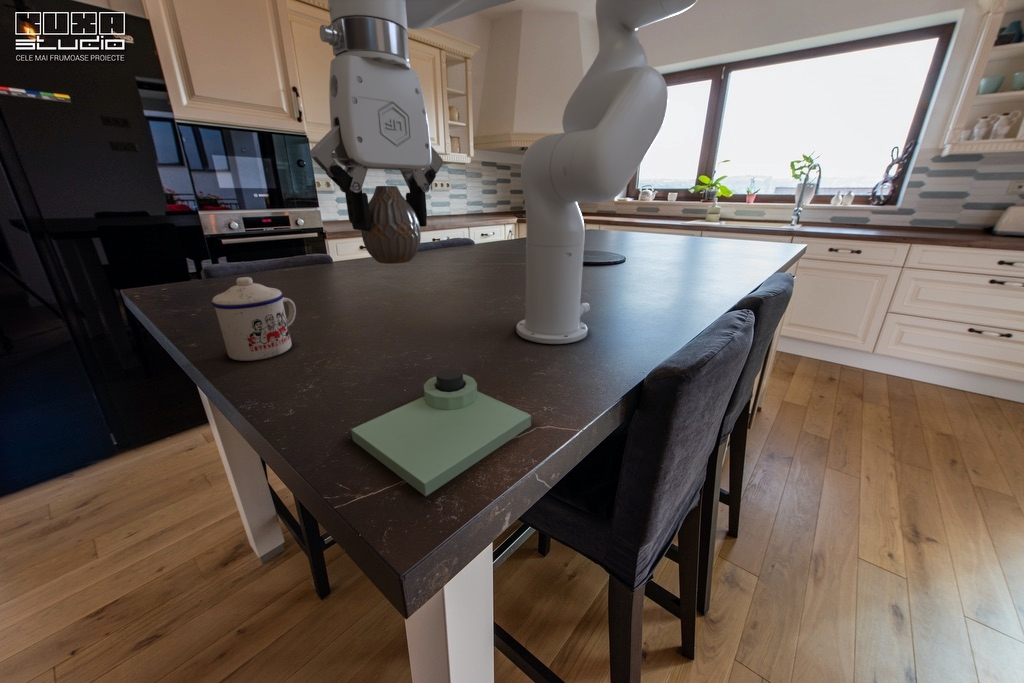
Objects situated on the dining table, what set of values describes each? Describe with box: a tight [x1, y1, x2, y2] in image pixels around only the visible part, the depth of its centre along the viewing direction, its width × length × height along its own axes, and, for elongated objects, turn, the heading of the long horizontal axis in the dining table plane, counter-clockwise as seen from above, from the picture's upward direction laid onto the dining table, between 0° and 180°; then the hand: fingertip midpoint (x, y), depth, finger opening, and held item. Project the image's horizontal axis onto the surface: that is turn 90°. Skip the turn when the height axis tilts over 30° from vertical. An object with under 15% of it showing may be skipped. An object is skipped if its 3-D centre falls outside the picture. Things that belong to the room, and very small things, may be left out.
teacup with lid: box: [211, 276, 297, 362], centre depth 62 cm, size 12×9×12 cm
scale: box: [350, 373, 532, 497], centre depth 41 cm, size 14×12×3 cm
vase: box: [360, 185, 422, 265], centre depth 48 cm, size 7×7×9 cm
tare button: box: [435, 367, 464, 392], centre depth 45 cm, size 3×3×2 cm
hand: (391, 226), depth 48 cm, fingers closed on vase, 6 cm apart
